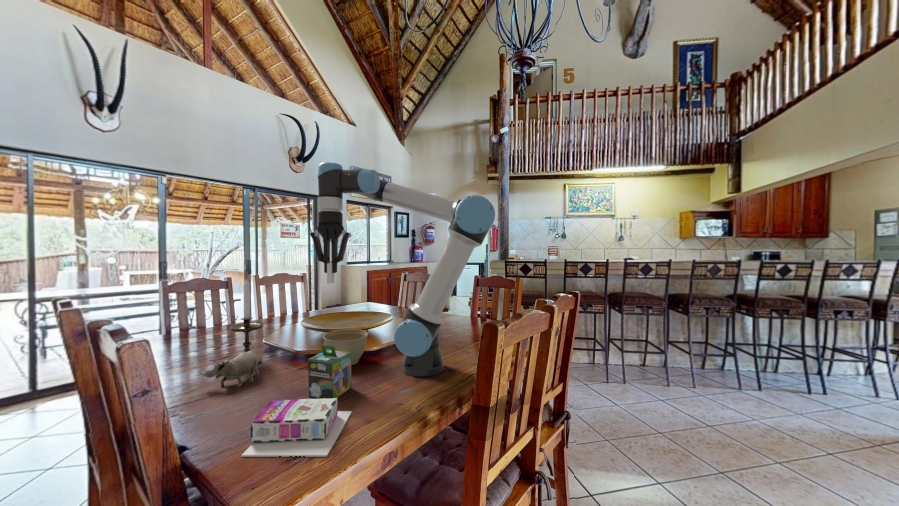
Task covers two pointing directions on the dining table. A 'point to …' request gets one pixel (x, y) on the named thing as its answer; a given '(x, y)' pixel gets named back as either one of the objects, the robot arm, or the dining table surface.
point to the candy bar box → (294, 420)
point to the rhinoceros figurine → (235, 368)
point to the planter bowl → (347, 342)
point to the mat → (300, 443)
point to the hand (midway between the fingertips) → (330, 282)
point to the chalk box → (329, 373)
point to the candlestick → (246, 320)
